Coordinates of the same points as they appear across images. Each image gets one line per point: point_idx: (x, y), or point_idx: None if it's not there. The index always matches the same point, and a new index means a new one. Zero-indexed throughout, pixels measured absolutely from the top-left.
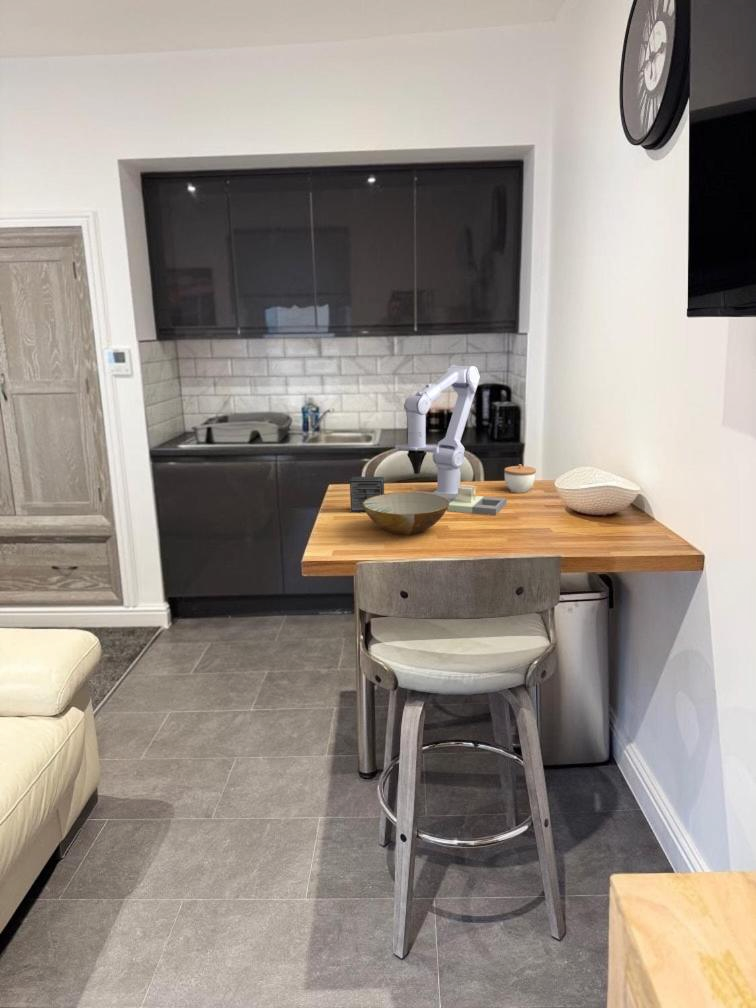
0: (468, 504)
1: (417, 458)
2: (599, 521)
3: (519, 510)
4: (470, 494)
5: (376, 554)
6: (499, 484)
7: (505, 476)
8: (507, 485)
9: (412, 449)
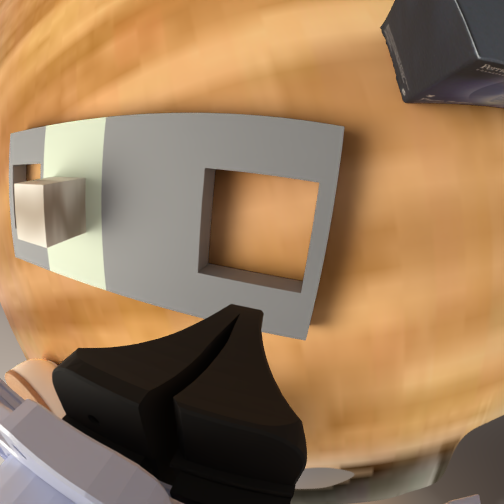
0: (55, 150)
1: (148, 361)
2: None
3: (3, 199)
4: (32, 180)
5: None
6: None
7: (50, 396)
8: None
9: (73, 438)
